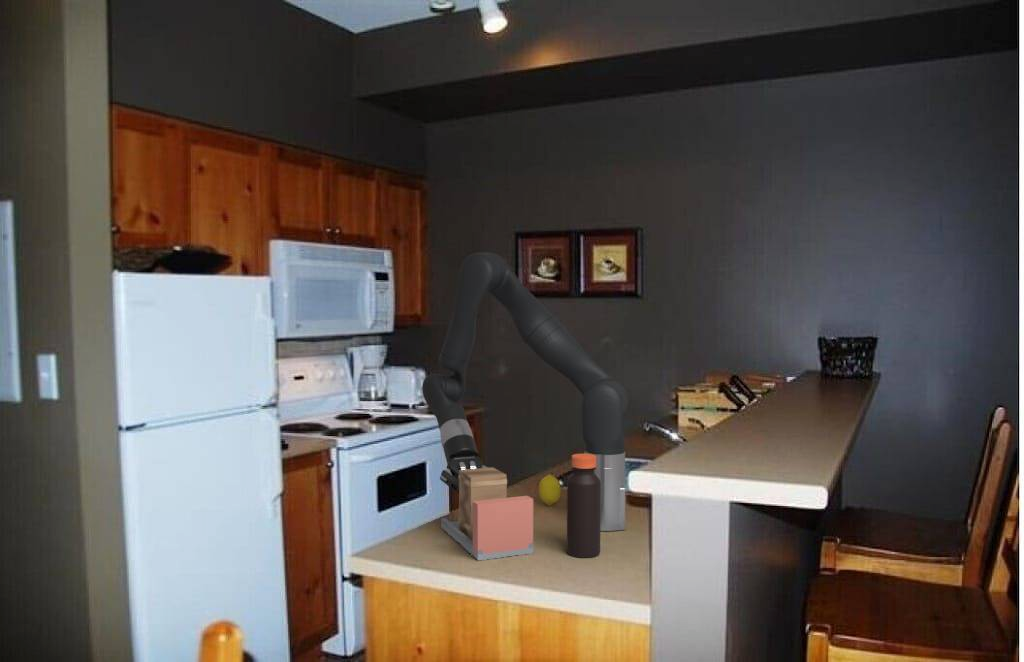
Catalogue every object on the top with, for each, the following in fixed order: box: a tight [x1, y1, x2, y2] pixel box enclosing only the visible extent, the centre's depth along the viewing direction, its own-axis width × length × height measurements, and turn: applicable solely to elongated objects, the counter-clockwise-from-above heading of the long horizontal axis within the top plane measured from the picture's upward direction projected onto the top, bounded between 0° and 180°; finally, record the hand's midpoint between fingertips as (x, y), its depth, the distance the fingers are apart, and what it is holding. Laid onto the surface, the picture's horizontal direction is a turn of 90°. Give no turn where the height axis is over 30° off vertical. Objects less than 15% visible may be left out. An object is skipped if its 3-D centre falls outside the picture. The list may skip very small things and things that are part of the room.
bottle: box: [566, 453, 601, 559], centre depth 157 cm, size 7×7×20 cm
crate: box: [457, 466, 508, 539], centre depth 167 cm, size 8×8×13 cm
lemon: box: [538, 474, 561, 507], centre depth 195 cm, size 6×6×8 cm
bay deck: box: [440, 517, 534, 562], centre depth 166 cm, size 24×12×2 cm, turn 22°
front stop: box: [473, 495, 534, 555], centre depth 156 cm, size 3×12×10 cm, turn 112°
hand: (475, 506), depth 172 cm, fingers closed
